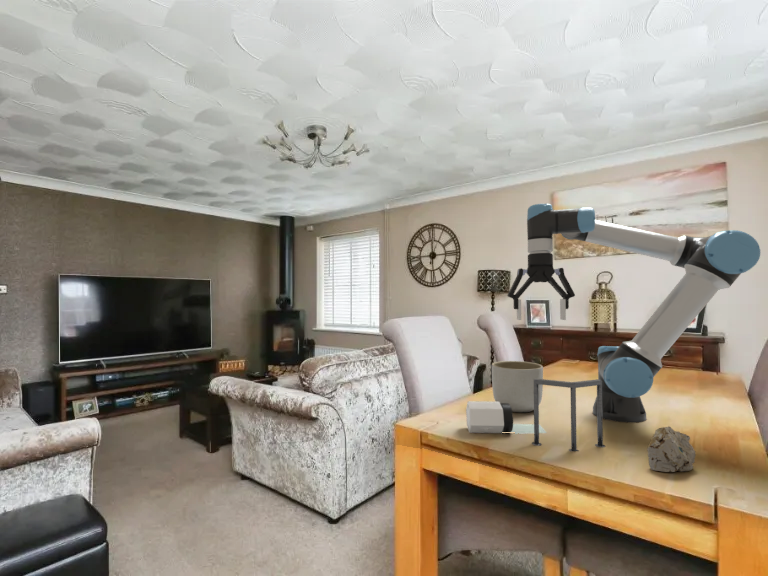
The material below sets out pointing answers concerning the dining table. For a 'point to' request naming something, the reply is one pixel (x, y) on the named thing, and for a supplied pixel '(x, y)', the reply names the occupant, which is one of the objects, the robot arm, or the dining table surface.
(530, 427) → the pad
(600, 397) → the metal railing
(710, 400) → the dining table surface
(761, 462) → the dining table surface
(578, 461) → the dining table surface
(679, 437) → the rock
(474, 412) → the jar
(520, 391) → the planter
